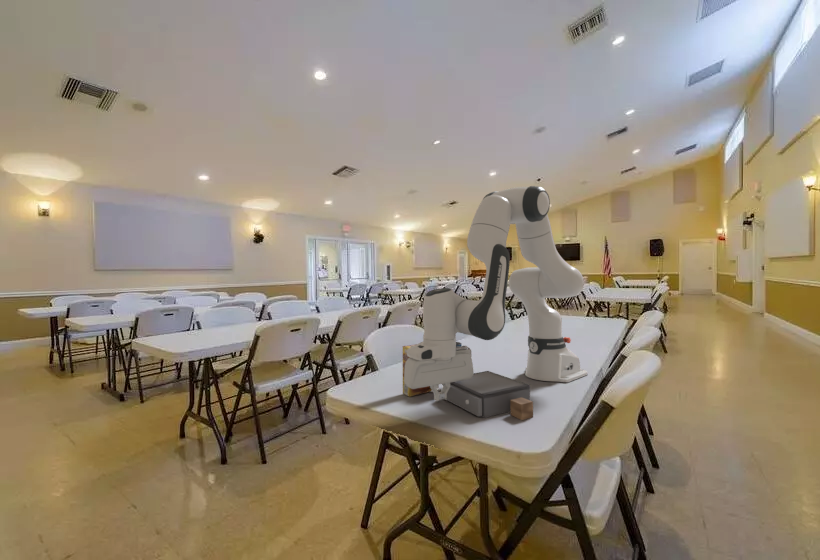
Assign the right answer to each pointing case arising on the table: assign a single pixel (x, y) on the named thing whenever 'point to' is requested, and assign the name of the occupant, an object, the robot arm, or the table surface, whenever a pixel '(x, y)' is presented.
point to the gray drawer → (465, 400)
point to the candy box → (406, 389)
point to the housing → (494, 391)
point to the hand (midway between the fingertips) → (440, 399)
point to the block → (521, 408)
